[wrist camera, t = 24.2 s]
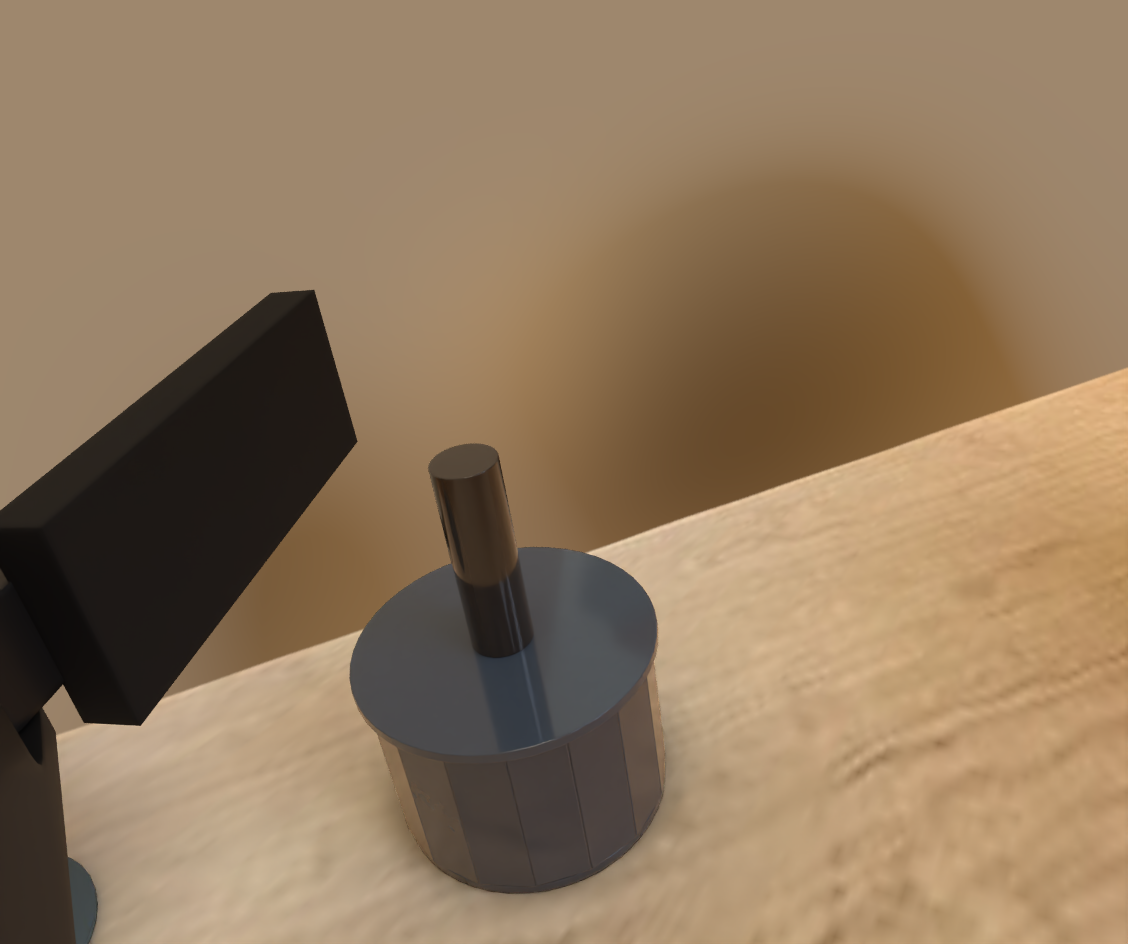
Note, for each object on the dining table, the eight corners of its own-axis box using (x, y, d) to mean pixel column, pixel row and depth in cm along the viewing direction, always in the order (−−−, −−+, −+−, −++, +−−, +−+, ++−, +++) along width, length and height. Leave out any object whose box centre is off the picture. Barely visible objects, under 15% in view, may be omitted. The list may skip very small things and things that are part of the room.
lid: (610, 538, 49) (585, 359, 44) (705, 718, 38) (686, 503, 33) (349, 605, 47) (291, 427, 42) (363, 816, 36) (287, 605, 31)
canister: (622, 662, 53) (603, 536, 48) (703, 844, 42) (689, 702, 38) (397, 724, 51) (357, 599, 47) (422, 930, 40) (373, 791, 36)
